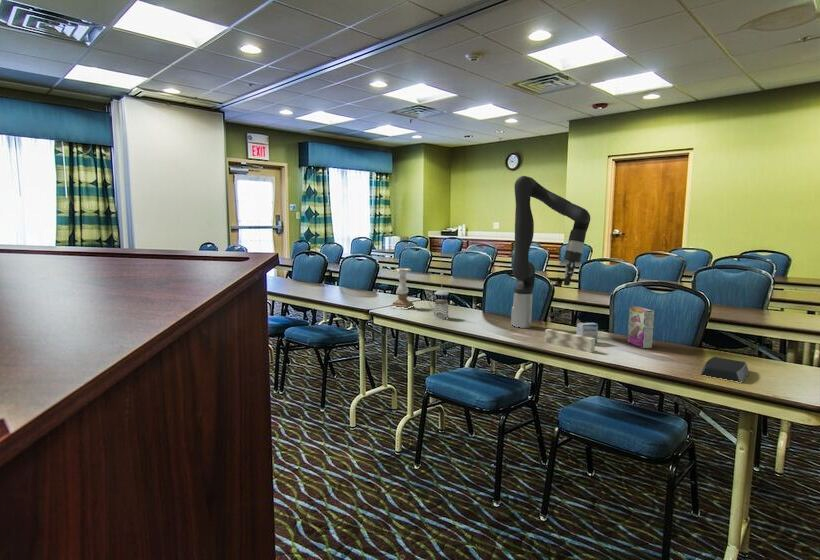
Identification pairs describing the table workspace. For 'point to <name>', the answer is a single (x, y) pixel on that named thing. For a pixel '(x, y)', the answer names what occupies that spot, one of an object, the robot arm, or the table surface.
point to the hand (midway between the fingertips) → (566, 285)
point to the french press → (443, 304)
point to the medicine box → (588, 330)
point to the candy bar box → (640, 326)
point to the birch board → (570, 340)
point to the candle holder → (402, 290)
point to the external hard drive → (726, 369)
